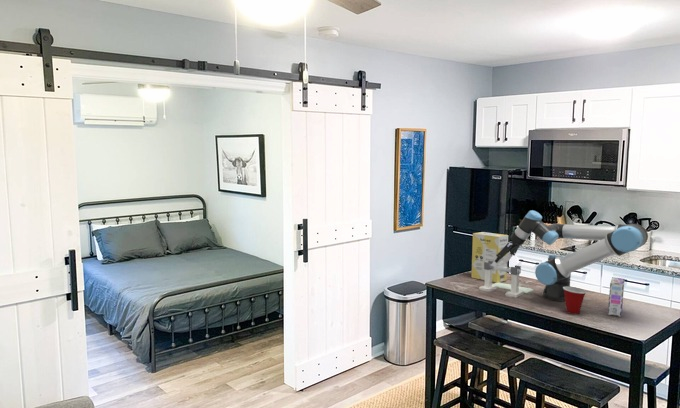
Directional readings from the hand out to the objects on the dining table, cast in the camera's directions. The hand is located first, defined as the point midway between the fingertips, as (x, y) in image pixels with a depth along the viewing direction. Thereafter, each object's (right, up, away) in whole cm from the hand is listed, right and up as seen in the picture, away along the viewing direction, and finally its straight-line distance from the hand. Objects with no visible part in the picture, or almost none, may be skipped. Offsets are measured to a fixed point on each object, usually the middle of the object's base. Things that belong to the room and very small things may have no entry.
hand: (498, 264), depth 282 cm
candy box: (+48, -20, -32) cm, 61 cm away
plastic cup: (+27, -20, -33) cm, 47 cm away
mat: (+11, -15, +10) cm, 21 cm away
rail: (+2, -4, 0) cm, 4 cm away
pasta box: (+3, -13, +29) cm, 32 cm away
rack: (+2, -16, +2) cm, 16 cm away
